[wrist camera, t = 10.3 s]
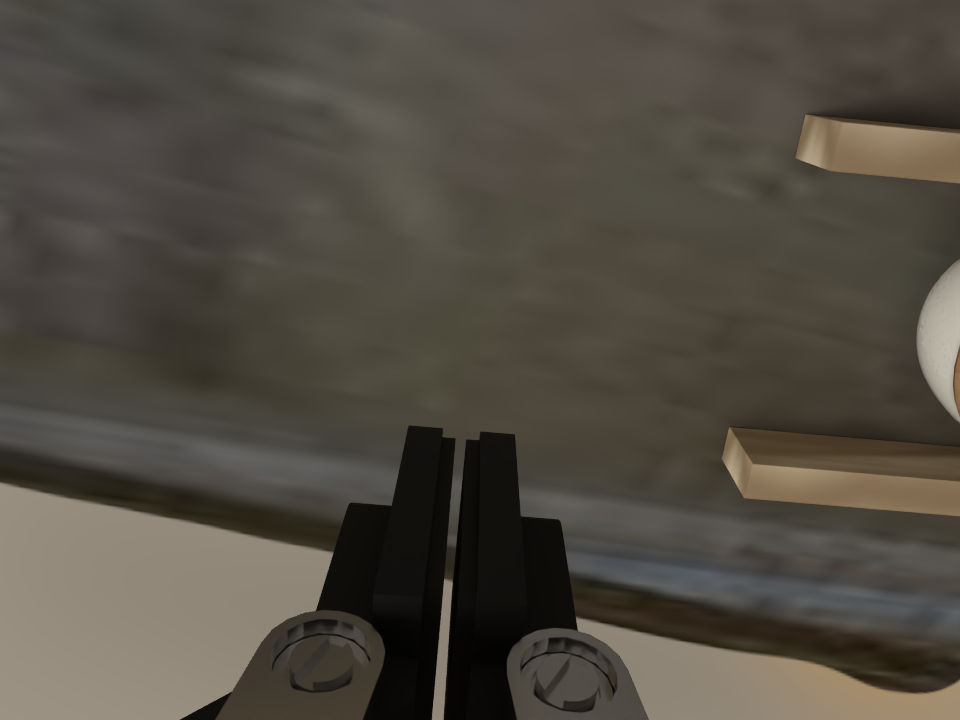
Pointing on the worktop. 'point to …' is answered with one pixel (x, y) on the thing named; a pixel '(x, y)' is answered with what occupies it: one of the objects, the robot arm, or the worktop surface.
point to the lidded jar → (942, 340)
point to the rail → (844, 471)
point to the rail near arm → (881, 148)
